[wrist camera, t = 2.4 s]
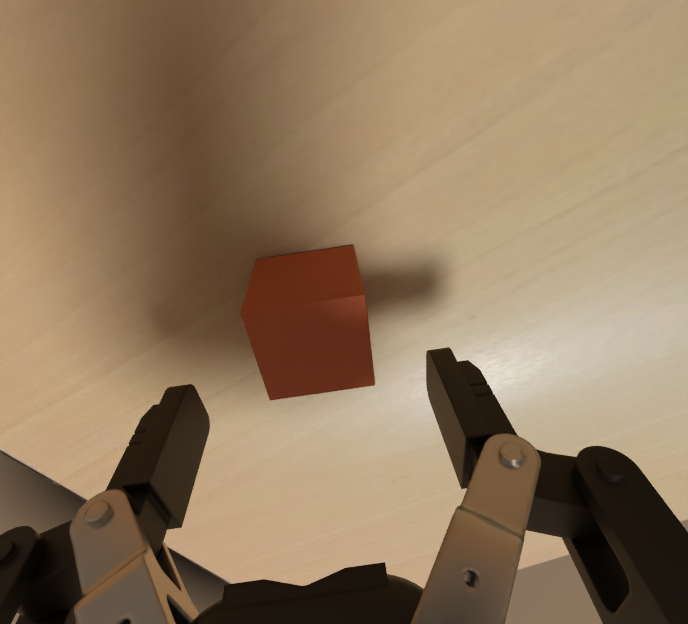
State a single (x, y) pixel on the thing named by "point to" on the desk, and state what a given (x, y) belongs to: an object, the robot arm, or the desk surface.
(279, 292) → the block
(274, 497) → the desk surface
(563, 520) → the robot arm
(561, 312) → the desk surface
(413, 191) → the desk surface
